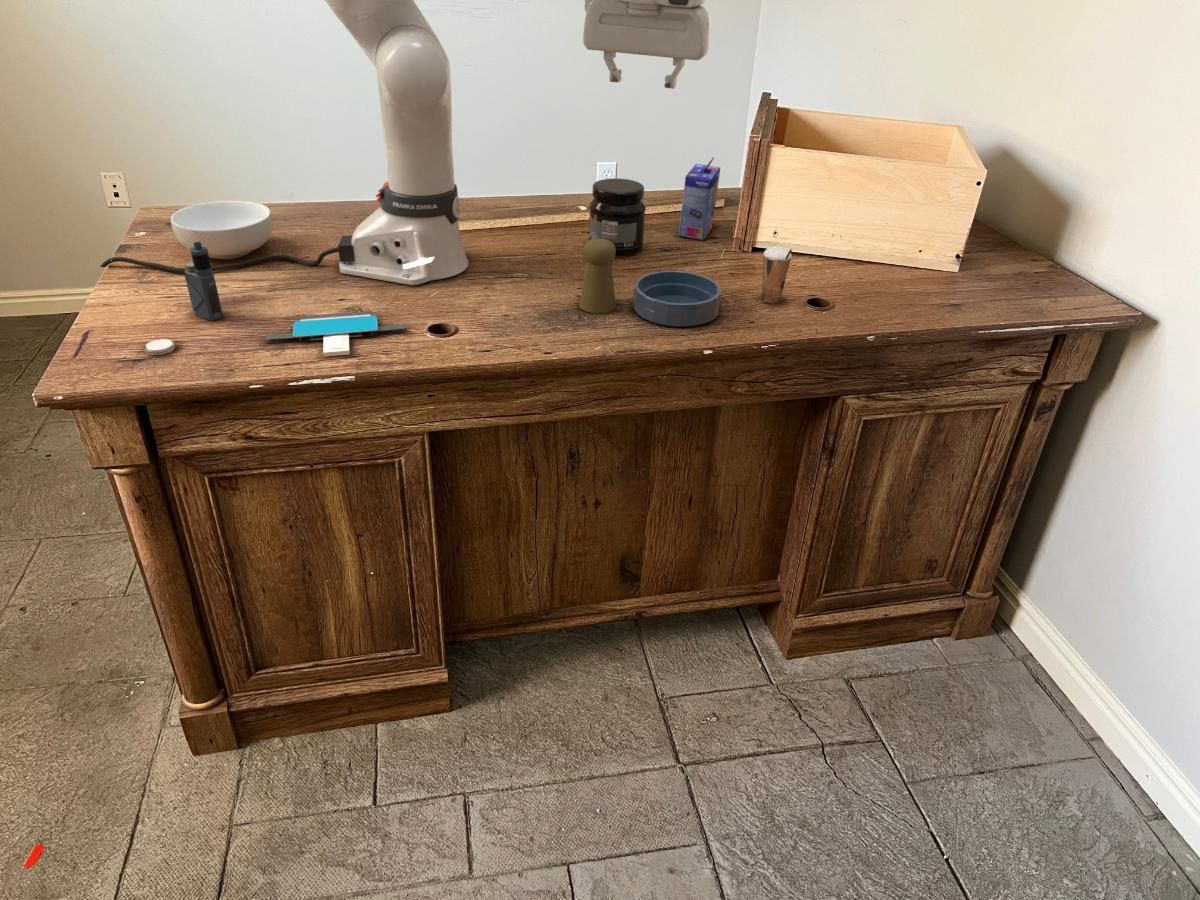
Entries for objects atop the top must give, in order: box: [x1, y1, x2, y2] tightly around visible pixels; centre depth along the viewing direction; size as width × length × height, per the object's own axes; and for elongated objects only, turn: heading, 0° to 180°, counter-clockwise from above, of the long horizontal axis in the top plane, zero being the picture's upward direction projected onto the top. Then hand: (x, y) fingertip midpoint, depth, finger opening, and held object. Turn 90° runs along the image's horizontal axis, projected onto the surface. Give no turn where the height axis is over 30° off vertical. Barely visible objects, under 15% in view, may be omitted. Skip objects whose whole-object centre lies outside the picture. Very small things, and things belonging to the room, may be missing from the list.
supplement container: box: [588, 177, 647, 258], centre depth 161 cm, size 10×10×12 cm
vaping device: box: [184, 242, 224, 322], centre depth 130 cm, size 3×5×12 cm, turn 58°
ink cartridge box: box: [678, 157, 721, 241], centre depth 169 cm, size 10×6×14 cm, turn 163°
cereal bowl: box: [170, 200, 273, 260], centre depth 154 cm, size 17×17×7 cm
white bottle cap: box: [143, 338, 176, 356], centre depth 124 cm, size 4×4×1 cm
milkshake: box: [761, 245, 793, 304], centre depth 143 cm, size 5×5×10 cm
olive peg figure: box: [579, 239, 616, 314], centre depth 139 cm, size 6×6×11 cm
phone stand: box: [265, 310, 405, 358], centre depth 128 cm, size 20×12×2 cm, turn 105°
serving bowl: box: [632, 270, 722, 328], centre depth 140 cm, size 14×14×4 cm
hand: (642, 84), depth 140 cm, fingers open, 8 cm apart
